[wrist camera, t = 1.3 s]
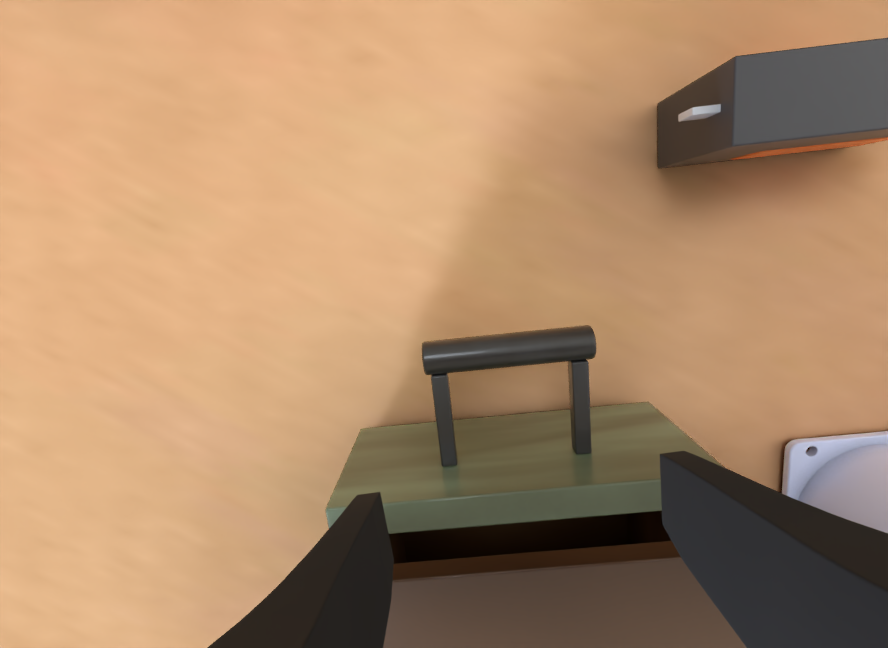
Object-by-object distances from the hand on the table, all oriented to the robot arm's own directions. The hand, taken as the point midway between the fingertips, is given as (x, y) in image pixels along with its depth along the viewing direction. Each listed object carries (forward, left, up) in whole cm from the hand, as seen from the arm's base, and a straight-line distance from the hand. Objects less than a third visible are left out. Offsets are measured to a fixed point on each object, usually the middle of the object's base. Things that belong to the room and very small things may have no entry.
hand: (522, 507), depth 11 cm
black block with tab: (-12, -10, -10) cm, 18 cm away
